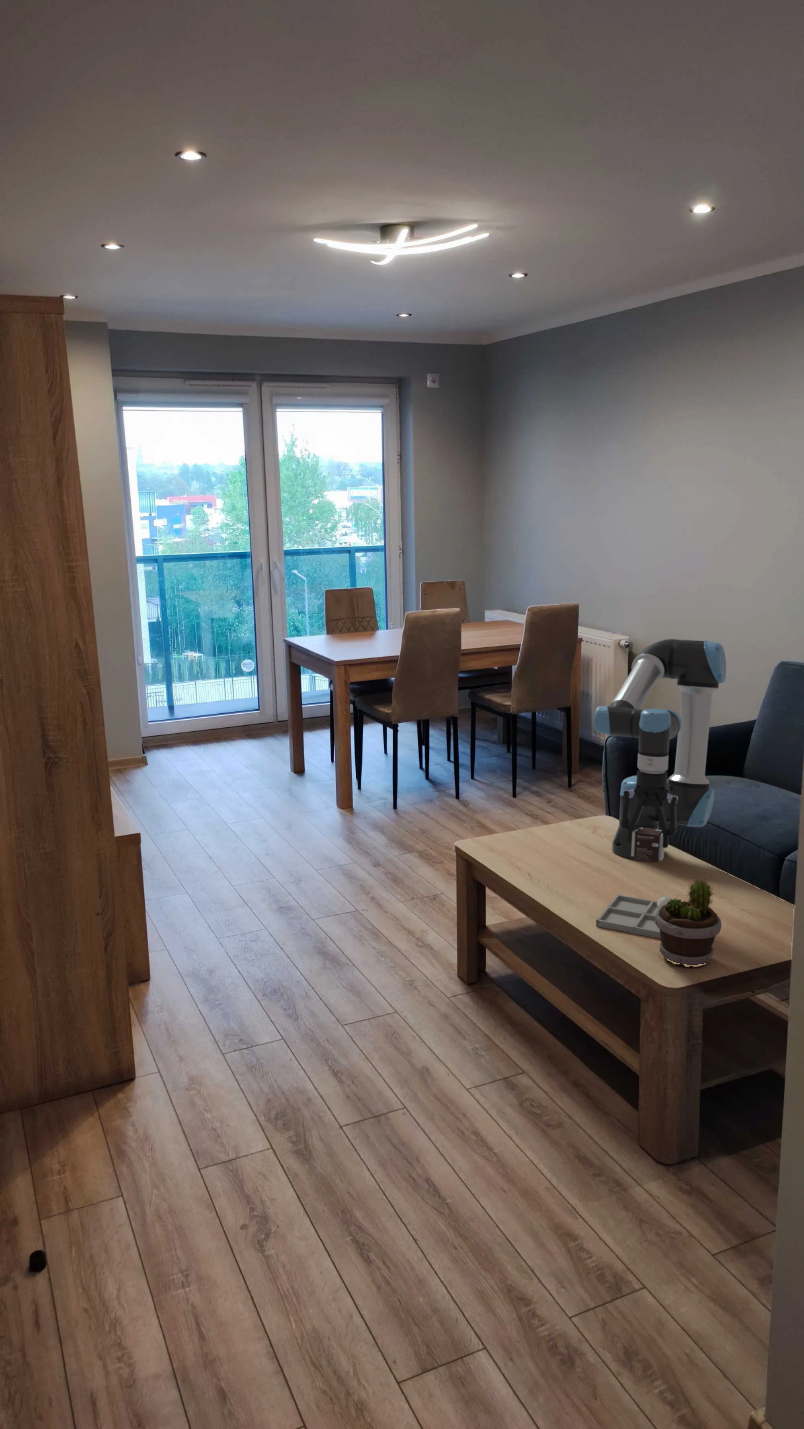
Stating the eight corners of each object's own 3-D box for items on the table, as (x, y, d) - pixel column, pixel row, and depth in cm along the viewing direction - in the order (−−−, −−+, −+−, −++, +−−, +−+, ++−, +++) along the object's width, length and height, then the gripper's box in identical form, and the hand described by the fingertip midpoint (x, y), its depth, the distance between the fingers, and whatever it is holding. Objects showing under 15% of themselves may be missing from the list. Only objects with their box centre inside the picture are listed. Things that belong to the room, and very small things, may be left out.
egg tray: (617, 900, 268) (617, 894, 268) (689, 913, 259) (690, 907, 259) (596, 926, 252) (596, 920, 251) (672, 941, 243) (673, 934, 243)
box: (633, 860, 259) (635, 832, 258) (637, 853, 264) (638, 826, 263) (657, 863, 257) (659, 835, 255) (660, 856, 262) (662, 829, 261)
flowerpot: (681, 978, 224) (687, 893, 220) (639, 951, 237) (643, 870, 233) (733, 967, 229) (739, 884, 225) (689, 940, 243) (694, 862, 239)
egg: (659, 909, 260) (659, 892, 260) (677, 912, 258) (678, 895, 257) (654, 916, 256) (655, 898, 255) (673, 919, 254) (674, 901, 253)
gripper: (610, 768, 257) (606, 855, 262) (687, 778, 249) (682, 867, 253) (618, 762, 264) (614, 847, 268) (694, 771, 255) (688, 858, 260)
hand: (647, 856), depth 261 cm, fingers closed on box, 6 cm apart
